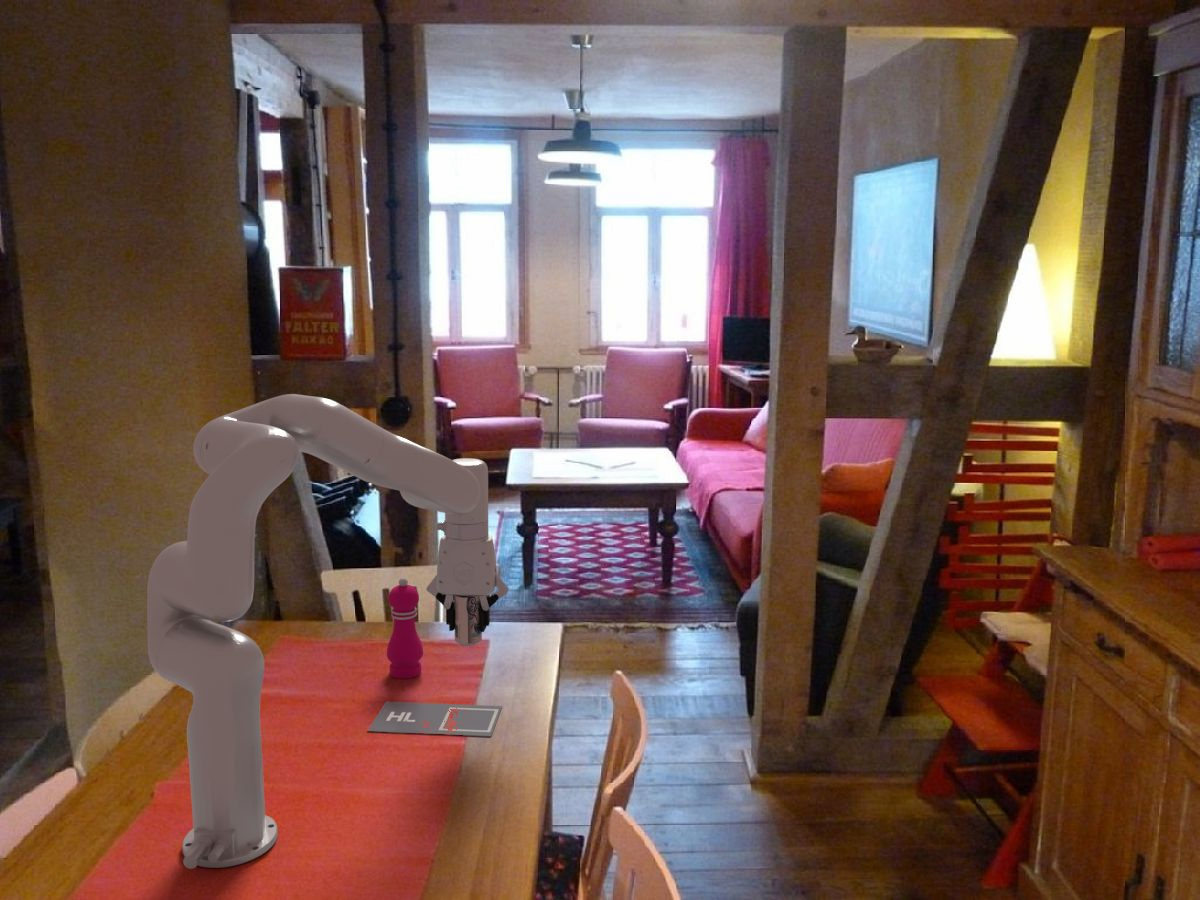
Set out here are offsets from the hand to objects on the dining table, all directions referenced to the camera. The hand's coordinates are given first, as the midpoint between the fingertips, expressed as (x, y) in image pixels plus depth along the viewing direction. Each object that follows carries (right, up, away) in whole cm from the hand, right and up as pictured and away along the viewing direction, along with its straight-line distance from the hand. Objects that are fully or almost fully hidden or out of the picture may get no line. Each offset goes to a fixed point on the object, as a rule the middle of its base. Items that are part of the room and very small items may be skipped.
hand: (468, 627), depth 174 cm
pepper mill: (-16, -14, +24) cm, 32 cm away
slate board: (-6, -17, +4) cm, 19 cm away
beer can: (0, -3, +1) cm, 3 cm away
